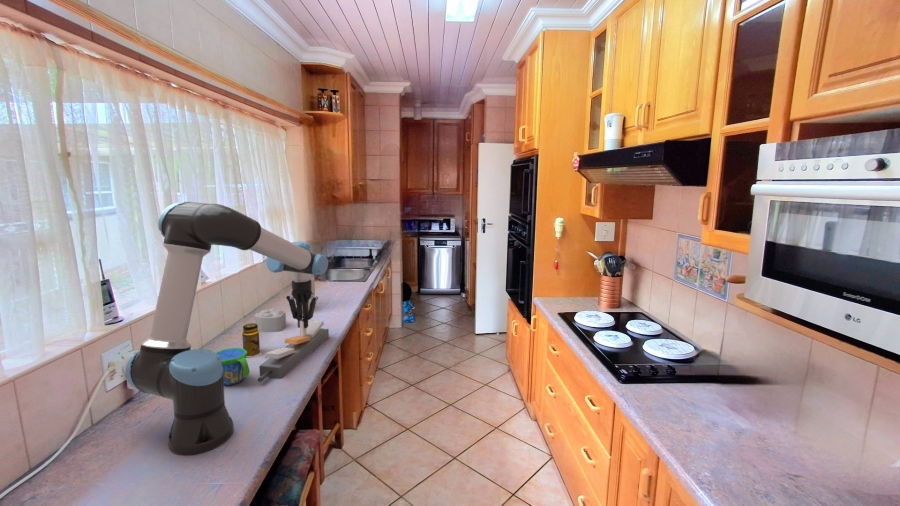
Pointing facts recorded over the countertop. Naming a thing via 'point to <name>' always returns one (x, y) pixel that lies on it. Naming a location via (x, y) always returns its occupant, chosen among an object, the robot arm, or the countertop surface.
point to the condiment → (251, 340)
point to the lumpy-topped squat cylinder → (270, 320)
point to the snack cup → (234, 365)
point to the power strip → (291, 357)
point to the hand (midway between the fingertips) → (303, 335)
